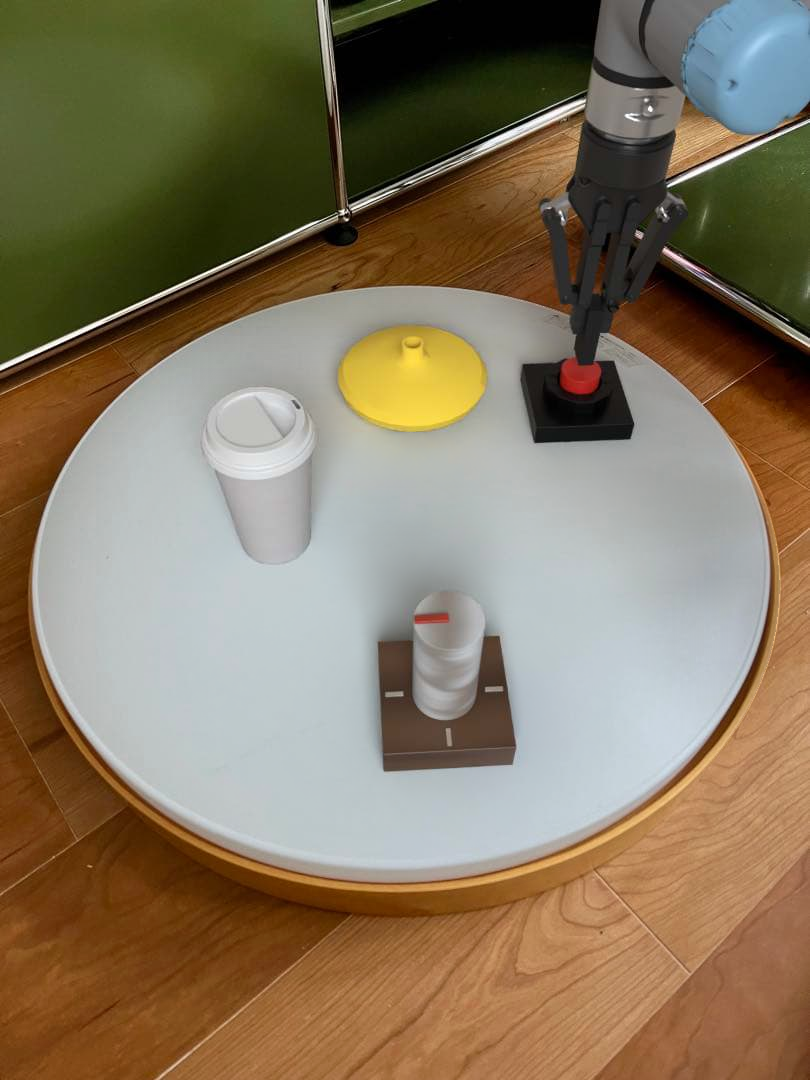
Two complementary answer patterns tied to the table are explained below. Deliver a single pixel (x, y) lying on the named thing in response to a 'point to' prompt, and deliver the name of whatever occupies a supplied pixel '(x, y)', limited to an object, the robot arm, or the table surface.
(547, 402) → the black button base
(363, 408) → the yellow funnel lid
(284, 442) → the coffee cup
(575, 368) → the button
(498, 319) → the table surface
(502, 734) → the panel
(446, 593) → the tap knob
